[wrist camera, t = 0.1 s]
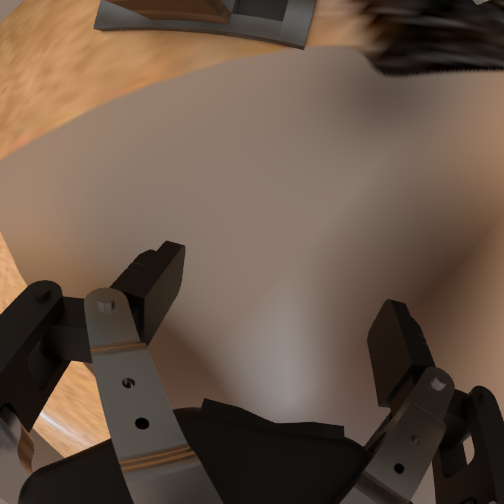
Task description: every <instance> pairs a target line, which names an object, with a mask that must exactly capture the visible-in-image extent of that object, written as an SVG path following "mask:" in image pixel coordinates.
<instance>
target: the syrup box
mask: <svg viewBox="0 0 504 504" xmlns="http://www.w3.org/2000/svg"><path fill="white" fill-rule="evenodd" d="M473 1H474V2H475V4H476V5H479V4H481V3H483V2H486V1H488V0H473Z"/></svg>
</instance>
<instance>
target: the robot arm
mask: <svg viewBox="0 0 504 504" xmlns="http://www.w3.org/2000/svg"><path fill="white" fill-rule="evenodd" d="M184 258H185V246H184V245H181V244H178V243H174V242H170V241H165V242H164V243H163V244H162V246H161V247H160V248H159V249H158V250H157V251H154V250H151V249H150V250H148V251H146V252H143V253H141V254H139V255H138V257H137V258H136V259H135V260H134V261H133V263H131V264H130V265H129V266H128V268H127V269H126V270H125V271H124V272H123V273H122V274H121V275H120V276H119V277H118V278H117V280H116V281H115V282H114V283H113V284H112V285H111V286H110V287H109V288H99V289H96V290H93V291H91V292H90V293H89V294H88V295H87V296H86V297H85V299H82V298H81V299H80V298H72V297H64V296H63V294H62V290H61V287H60V286H59V285H58V284H57V283H55V282H53V281H47V280H44V281H37V282H35V283H32V284H31V285H29V286H28V287H27V288H26V289H25V290H24V291H23V292H22V293H21V294H20V295H19V296H18V297H17V298H16V299H15V300H14V301H13V302H12V303H11V304H10V305H9V306H8V307H7V308H6V309H5V310H4V311H3V313H2V314H1V315H0V497H1V498H2V499H3V500H5V501H6V502H8V503H9V504H413V503H412V502H411V501H410V500H411V499H412V497H413V495H414V494H415V492H416V490H417V488H418V486H419V485H420V483H421V481H422V479H423V477H424V475H425V473H426V471H427V469H428V467H429V466H430V464H431V461H432V467H433V476H434V486H435V497H436V504H504V421H503V418H502V415H501V412H500V409H499V406H498V403H497V401H496V399H495V397H494V395H493V394H492V392H491V391H490V390H488V389H487V388H485V387H483V386H475V387H474V388H473V389H472V390H471V391H470V392H469V393H468V394H467V393H464V392H462V391H459V390H457V389H455V384H454V382H453V380H452V378H451V377H450V375H449V374H448V373H447V372H445V371H444V370H443V369H441V368H438V367H436V366H435V364H434V361H433V358H432V355H431V353H430V350H429V348H428V345H426V340H425V338H424V337H423V336H424V335H423V332H422V330H421V327H420V326H419V325H418V323H417V322H416V321H415V320H414V319H413V317H411V316H410V313H409V311H408V308H407V306H406V304H405V303H403V302H398V301H394V300H390V299H387V300H386V301H385V302H384V304H383V306H382V308H381V309H380V311H379V313H378V315H377V317H376V319H375V320H374V322H373V324H372V326H371V328H370V330H369V333H368V338H367V344H368V349H369V354H370V359H371V364H372V370H373V375H374V381H375V387H376V393H377V399H378V405H379V407H389V408H390V409H391V411H390V413H389V414H388V415H387V416H386V417H385V419H384V420H383V421H382V423H381V424H380V426H379V427H378V428H377V430H376V431H375V432H374V434H373V435H372V436H371V438H370V439H369V440H368V442H367V443H366V444H365V445H364V447H363V446H361V445H360V444H358V443H357V442H355V441H354V440H351V439H349V438H347V437H344V426H339V425H330V424H324V423H316V422H301V423H274V422H271V421H269V420H266V419H264V418H262V417H259V416H257V415H255V414H253V413H251V412H249V411H246V410H244V409H242V408H240V407H236V406H232V405H228V404H224V403H220V402H216V401H213V400H209V399H206V398H204V401H203V404H202V407H201V408H196V407H190V408H180V409H174V410H172V408H171V406H170V404H169V401H168V399H167V397H166V394H165V392H164V389H163V387H162V384H161V382H160V380H159V377H158V374H157V372H156V369H155V366H154V364H153V361H152V358H151V356H150V353H149V350H148V345H149V343H150V342H151V340H152V338H153V336H154V335H155V333H156V331H157V329H158V327H159V326H160V324H161V322H162V321H163V319H164V317H165V315H166V314H167V312H168V310H169V308H170V306H171V305H172V303H173V301H174V300H175V298H176V296H177V295H178V292H179V290H180V286H181V282H182V275H183V266H184ZM71 360H72V361H79V362H87V363H93V367H94V372H95V377H96V382H97V386H98V391H99V395H100V399H101V403H102V407H103V411H104V415H105V418H106V422H107V426H108V429H109V433H110V436H111V438H110V439H108V440H106V441H103V442H101V443H99V444H97V445H95V446H92V447H90V448H88V449H86V450H83V451H81V452H79V453H76V454H74V455H72V456H69V457H67V458H64V459H62V460H59V461H57V462H55V463H52V464H49V465H47V466H44V467H42V468H40V469H38V470H36V471H35V472H33V471H32V458H33V455H34V442H33V440H32V438H31V436H30V435H29V432H30V431H31V429H32V427H33V425H34V423H35V421H36V420H37V418H38V416H39V414H40V412H41V411H42V409H43V407H44V405H45V404H46V402H47V400H48V398H49V397H50V395H51V393H52V392H53V390H54V388H55V387H56V385H57V383H58V382H59V380H60V378H61V377H62V375H63V373H64V372H65V370H66V368H67V367H68V365H69V364H70V362H71ZM469 436H471V437H472V441H473V445H474V450H475V453H474V457H473V459H472V461H471V462H470V463H469V464H468V465H467V462H466V456H465V451H464V447H463V442H464V441H465V440H466V439H467V438H468V437H469Z"/></svg>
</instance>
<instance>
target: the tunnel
mask: <svg viewBox="0 0 504 504" xmlns="http://www.w3.org/2000/svg"><path fill="white" fill-rule="evenodd" d="M315 4H316V0H101V1H100V5H99V9H98V12H97V16H96V20H95V24H94V28H93V29H96V30H100V31H116V30H168V31H186V32H199V33H209V34H218V35H227V36H234V37H241V38H247V39H253V40H259V41H265V42H270V43H275V44H280V45H284V46H289V47H293V48H298V49H302V50H304V48H305V44H306V40H307V36H308V32H309V28H310V24H311V20H312V16H313V12H314V8H315Z"/></svg>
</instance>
